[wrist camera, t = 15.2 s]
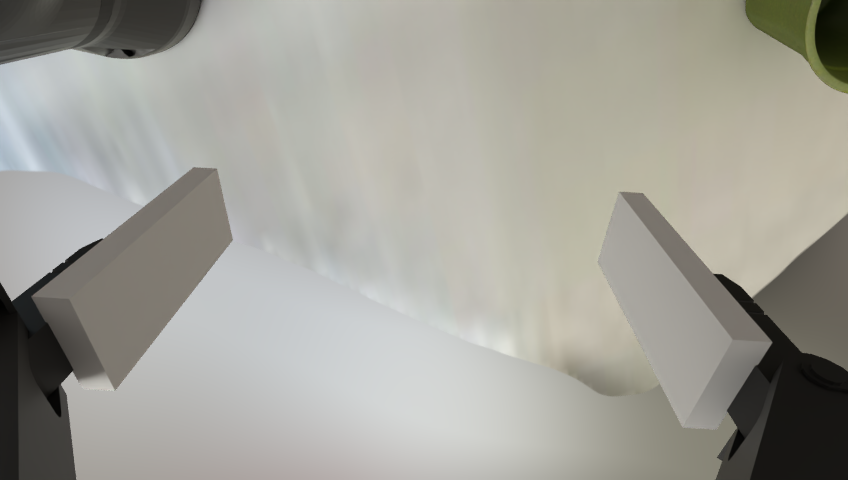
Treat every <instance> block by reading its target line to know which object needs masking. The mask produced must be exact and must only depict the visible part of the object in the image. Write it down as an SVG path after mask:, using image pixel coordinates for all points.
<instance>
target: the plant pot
mask: <svg viewBox="0 0 848 480" xmlns="http://www.w3.org/2000/svg"><path fill="white" fill-rule="evenodd" d="M746 14H747V17H748V19H749V20H750V22H751V23H752V24H753V25H754V26H755V27H756V28H758V29H759V30H761V31H763V32H764V33H766V34H768V35H770V36H771V37H773V38H774V39H776V40H778V41H779V42H781V43H783V44H784V45H786V46H788V47H789V48H791V49H793V50H794V51H796V52H798V53H800V54H801V55H802V56H803V57H804V58H805V59H806V60H807V61H808V62H809V64H810V66H811V68H812V70H813V71H814V72H815V74H816V75H817V76H818V77H819V78H820V79H821V80H822V81H823V82H824V83H825V84H827V85H828V86H830V87H831V88H833V89H835V90H838V91H841V92H844V93H848V0H746Z"/></svg>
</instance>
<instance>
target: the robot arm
mask: <svg viewBox="0 0 848 480" xmlns="http://www.w3.org/2000/svg"><path fill="white" fill-rule="evenodd" d="M200 2H201V0H0V65H1V64H5V63H10V62H14V61H19V60H23V59H28V58H32V57H37V56H41V55H46V54H50V53H55V52H59V51H63V50H67V49H74V50H79V51H83V52H88V53H92V54H97V55H101V56H106V57H111V58H119V59H132V58H141V57H145V56H149V55H152V54H156V53H159V52H162V51H165V50H167V49H169V48H171V47H173V46H174V45H176V44H177V43H178V42H179V41H180V40H182V39H183V38H184V36H185V35H186V34H187V33H188V32H189V30H190V29H191V27H192V25H193V23H194V21H195V19H196V17H197V14H198V11H199V7H200ZM232 240H233V239H232V234H231V230H230V225H229V221H228V216H227V212H226V207H225V203H224V198H223V194H222V189H221V185H220V180H219V176H218V171H217V169H213V168H195V167H194V168H192V169H191V170H190V171H189V172H187V173H186V174H185V175H184V176H182V177H181V178H180V179H179V180H177V181H176V182H175V183H174V184H172V185H171V186H170V187H168V188H167V189H166V190H165V191H163V192H162V193H161V194H160V195H158V196H157V197H156V198H155V199H153V200H152V201H151V202H150V203H148V204H147V205H146V206H145V207H143V208H142V209H141V210H140V211H138V212H137V213H136V214H135V215H133V216H132V217H131V218H129V219H128V220H127V221H126V222H124V223H123V224H122V225H121V226H119V227H118V228H117V229H116V230H115V231H113V232H112V233H111V234H109V235H108V236H107V237H106V238H104V239H100V240H97V241H95V242H93V243H91V244H89V245H87V246H85V247H83V248H81V249H79V250H78V251H77V252H75V253H74V254H73V255H72V256H70V257H69V258H68V259H66V260H65V263H61V264H60V265H59V266H57V267H56V268H55V269H53V272H52V273H48V274H47V275H46V276H44V277H43V278H42V279H40V280H39V281H38V282H36V283H35V284H34V285H33V286H31V287H30V288H29V289H27V290H26V291H25V292H24V293H22V294H21V295H20V296H18V297H17V298H16V299H14V300H13V301H11V300H10V298H9V296H8V295H7V293H6V291H5V290H4V288H3V286H2V285H1V283H0V480H76V474H75V465H74V456H73V448H72V439H71V430H70V422H69V413H68V404H67V395H66V393H65V391H64V389H63V388H62V386H61V383H62V382H63V381H64V380H65V379H66V378H67V377H68V375H69V374H70V373H71V372H72V371H73V373H74V374H75V376H76V378H77V380H78V382H79V383H80V385H81V387H82V389H94V390H111V391H115V390H116V389H117V387H118V386H119V385H120V384H121V382H122V381H123V380H124V378H125V377H126V376H127V375H128V373H129V372H130V371H131V370H132V368H133V367H134V366H135V365H136V363H137V362H138V361H139V359H140V358H141V357H142V356H143V354H144V353H145V352H146V350H147V349H148V348H149V347H150V345H151V344H152V343H153V341H154V340H155V339H156V338H157V336H158V335H159V334H160V332H161V331H162V330H163V328H164V327H165V326H166V325H167V323H168V322H169V321H170V320H171V318H172V317H173V316H174V315H175V313H176V312H177V311H178V309H179V308H180V307H181V306H182V304H183V303H184V302H185V300H186V299H187V298H188V297H189V295H190V294H191V293H192V291H193V290H194V289H195V288H196V286H197V285H198V284H199V282H200V281H201V280H202V279H203V277H204V276H205V275H206V274H207V272H208V271H209V270H210V269H211V267H212V266H213V265H214V263H215V262H216V261H217V260H218V258H219V257H220V256H221V254H222V253H223V252H224V251H225V249H226V248H227V247H228V245H229V244H230V243H231V242H232ZM598 264H599V266H600V268H601V270H602V271H603V273H604V275H605V277H606V279H607V281H608V283H609V285H610V287H611V289H612V291H613V293H614V295H615V297H616V299H617V301H618V303H619V305H620V306H621V308H622V310H623V312H624V314H625V316H626V318H627V320H628V322H629V324H630V326H631V328H632V330H633V332H634V334H635V336H636V338H637V340H638V342H639V343H640V345H641V347H642V349H643V351H644V353H645V355H646V357H647V359H648V361H649V363H650V365H651V367H652V369H653V371H654V373H655V375H656V377H657V378H658V380H659V382H660V384H661V386H662V388H663V390H664V392H665V394H666V396H667V398H668V400H669V402H670V404H671V406H672V408H673V410H674V412H675V413H676V415H677V417H678V419H679V421H680V423H681V425H682V427H684V428H700V429H715V430H716V429H717V428H718V426H719V425H720V423H721V422H722V420H723V418H724V417H725V415H726V414H727V412H728V413H729V415H730V416H731V418H732V419H733V421H734V423H735V424H736V426H737V429H736V430H735V432H734V433H733V435H732V436H731V438H730V439H729V441H728V442H727V444H726V445H725V447H724V448H723V449H722V451H721V453H720V454H719V455H718V457H717V458H719V459H720V460H722V464H721V467H720V469H719V472H718V475H717V478H716V480H848V372H847V371H846V370H845V369H844V368H842V367H840V366H839V365H836V364H835V363H833V362H831V361H829V360H827V359H824V358H821V357H818V356H815V355H812V354H807V353H802V352H800V351H799V349H798V348H797V347H796V346H795V345H794V344H793V343H792V342H791V341H790V340H789V338H788V337H787V336H786V335H785V334H784V333H783V332H782V331H781V330H780V329H779V328H778V327H777V325H776V324H775V323H774V322H773V321H772V320H771V319H770V318H769V317H768V316H767V315H764V311H763V310H762V309H761V308H760V307H759V306H758V305H757V304H756V303H753V301H754V300H753V299H752V298H751V297H750V296H749V295H748V294H747V293H746V292H745V291H744V290H743V289H742V287H740V286H739V285H737V284H736V283H734V282H733V281H731V280H730V279H728V278H727V277H725V276H724V275H722V274H713V273H712V272H711V271H710V270H709V269H708V268H707V266H706V265H705V264H704V263H703V262H702V261H701V259H700V258H699V257H698V256H697V255H696V254H695V253H694V251H693V250H692V249H691V248H690V247H689V246H688V245H687V243H686V242H685V241H684V240H683V239H682V238H681V236H680V235H679V234H678V233H677V232H676V231H675V230H674V228H673V227H672V226H671V225H670V224H669V223H668V222H667V220H666V219H665V218H664V217H663V216H662V215H661V214H660V212H659V211H658V210H657V209H656V208H655V207H654V205H653V204H652V203H651V202H650V201H649V200H648V199H647V197H646V196H645V195H644V194H643V193H631V192H619V194H618V197H617V200H616V203H615V207H614V210H613V213H612V216H611V220H610V223H609V226H608V229H607V232H606V236H605V239H604V242H603V245H602V249H601V252H600V255H599V258H598Z"/></svg>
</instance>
